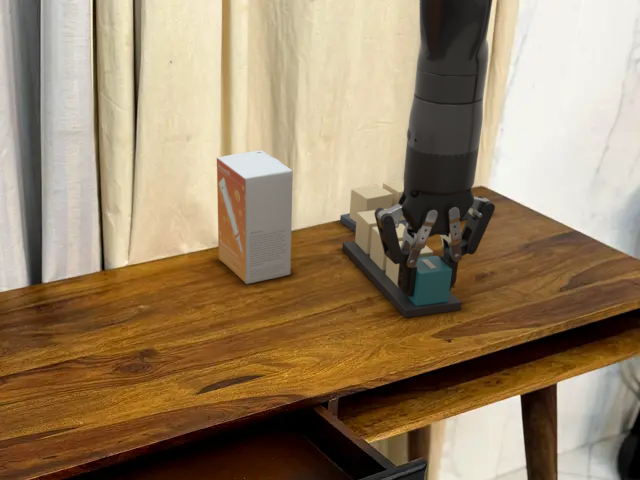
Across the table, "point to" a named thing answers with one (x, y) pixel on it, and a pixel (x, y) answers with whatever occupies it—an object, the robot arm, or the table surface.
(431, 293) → the teal marked cube
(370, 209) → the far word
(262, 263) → the small box
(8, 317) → the table surface
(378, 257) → the near word
